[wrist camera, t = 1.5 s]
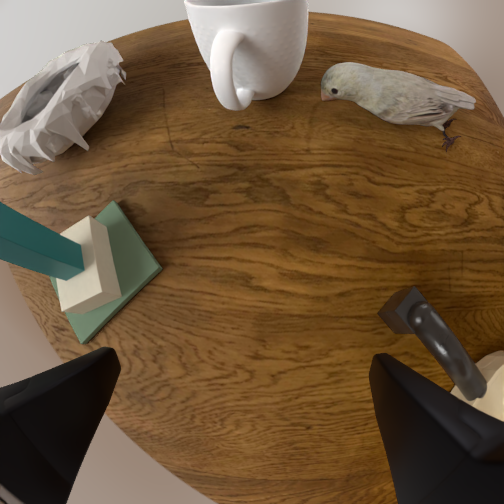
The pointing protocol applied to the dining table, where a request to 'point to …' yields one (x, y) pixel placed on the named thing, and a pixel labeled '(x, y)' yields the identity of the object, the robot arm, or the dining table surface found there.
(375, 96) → the decorative bird
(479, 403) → the pan
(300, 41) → the mug
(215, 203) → the dining table surface
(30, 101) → the bowl
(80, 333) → the mat
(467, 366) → the pan handle
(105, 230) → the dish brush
